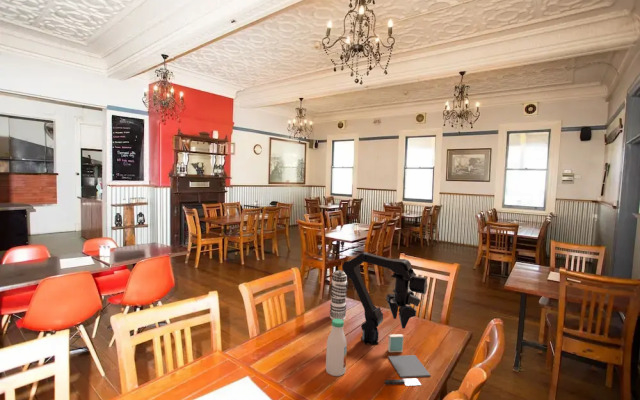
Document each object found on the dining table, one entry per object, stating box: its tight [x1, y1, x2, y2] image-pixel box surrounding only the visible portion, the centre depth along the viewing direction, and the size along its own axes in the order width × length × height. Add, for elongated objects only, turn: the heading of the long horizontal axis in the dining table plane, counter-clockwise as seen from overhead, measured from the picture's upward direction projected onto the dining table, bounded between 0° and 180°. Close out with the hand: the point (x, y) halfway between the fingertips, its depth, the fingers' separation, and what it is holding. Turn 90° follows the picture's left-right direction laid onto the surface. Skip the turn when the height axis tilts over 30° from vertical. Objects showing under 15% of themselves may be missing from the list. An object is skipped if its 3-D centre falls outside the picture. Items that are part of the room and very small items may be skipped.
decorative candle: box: [329, 270, 349, 321], centre depth 174 cm, size 9×9×25 cm
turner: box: [384, 377, 422, 387], centre depth 120 cm, size 13×4×1 cm, turn 98°
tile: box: [387, 333, 404, 353], centre depth 143 cm, size 6×2×7 cm, turn 98°
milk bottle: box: [325, 319, 348, 377], centre depth 126 cm, size 8×8×20 cm
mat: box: [387, 354, 431, 379], centre depth 131 cm, size 12×14×1 cm
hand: (399, 323), depth 143 cm, fingers open, 9 cm apart
